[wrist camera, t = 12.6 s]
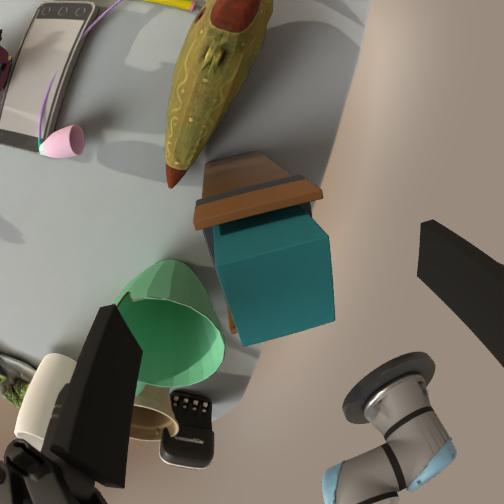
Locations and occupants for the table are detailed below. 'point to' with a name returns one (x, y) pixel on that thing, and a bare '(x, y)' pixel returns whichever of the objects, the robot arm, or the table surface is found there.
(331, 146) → the table surface
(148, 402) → the flower pot
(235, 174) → the wooden tower block
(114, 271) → the table surface
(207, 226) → the base
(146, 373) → the mug
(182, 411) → the battery charger
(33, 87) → the smartphone
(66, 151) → the earplug
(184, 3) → the pencil
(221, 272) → the teal cube
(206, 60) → the ocarina
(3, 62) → the figurine
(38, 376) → the cup
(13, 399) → the salad plate
